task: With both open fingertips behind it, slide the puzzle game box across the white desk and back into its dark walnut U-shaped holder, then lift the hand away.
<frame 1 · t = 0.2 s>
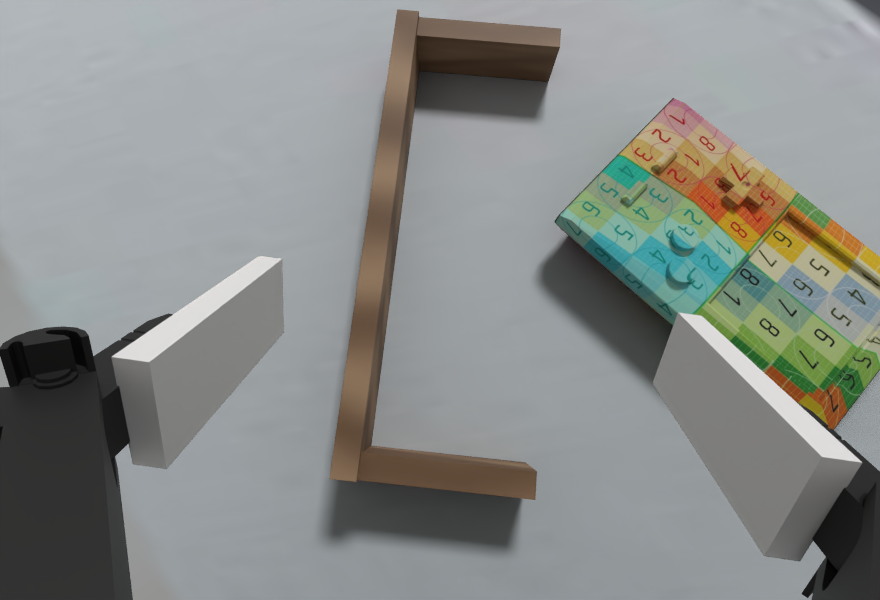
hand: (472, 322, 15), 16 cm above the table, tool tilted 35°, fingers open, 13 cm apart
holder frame: (509, 251, 32), on the table
puzzle game: (705, 273, 32), on the table
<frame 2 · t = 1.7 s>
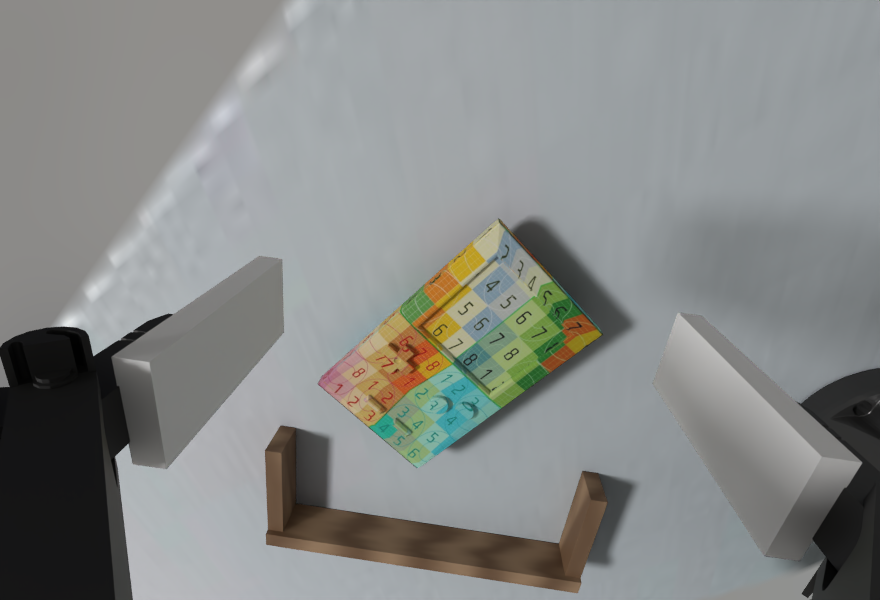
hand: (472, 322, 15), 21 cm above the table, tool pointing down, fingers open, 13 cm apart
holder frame: (435, 465, 44), on the table
puzzle game: (455, 337, 39), on the table
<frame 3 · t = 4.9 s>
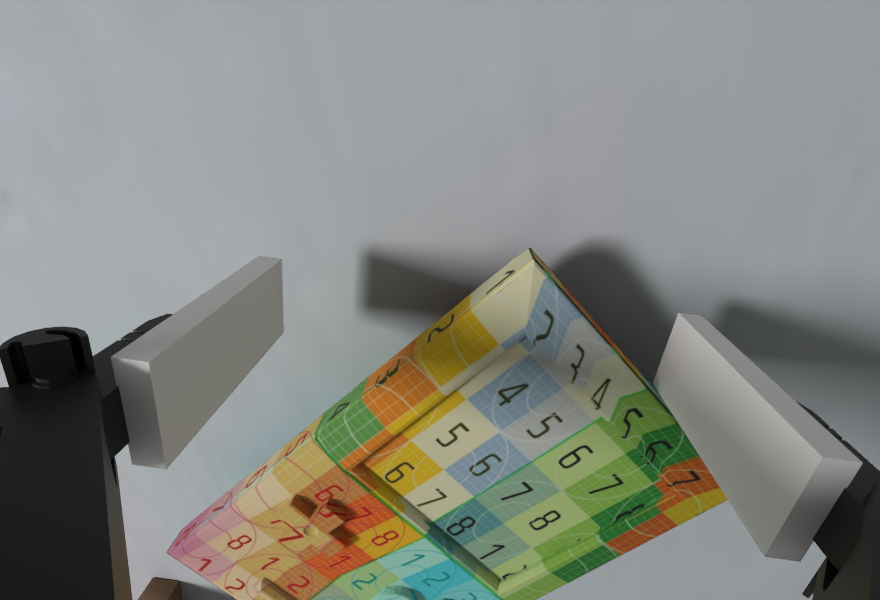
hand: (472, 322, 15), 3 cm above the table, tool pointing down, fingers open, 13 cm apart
puzzle game: (434, 454, 21), on the table, touching gripper
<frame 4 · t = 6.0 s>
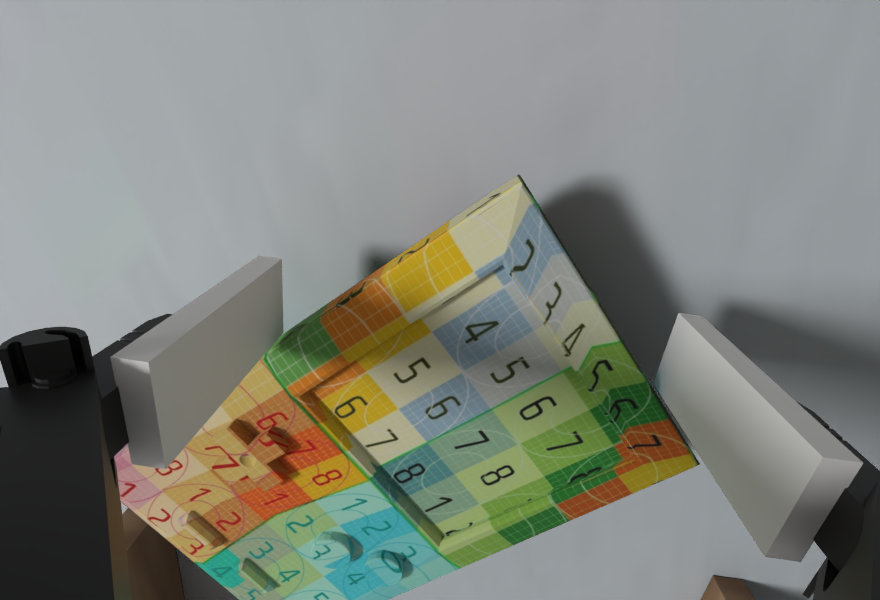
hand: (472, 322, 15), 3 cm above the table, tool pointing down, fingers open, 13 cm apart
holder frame: (432, 564, 24), on the table
puzzle game: (390, 405, 20), on the table, touching gripper
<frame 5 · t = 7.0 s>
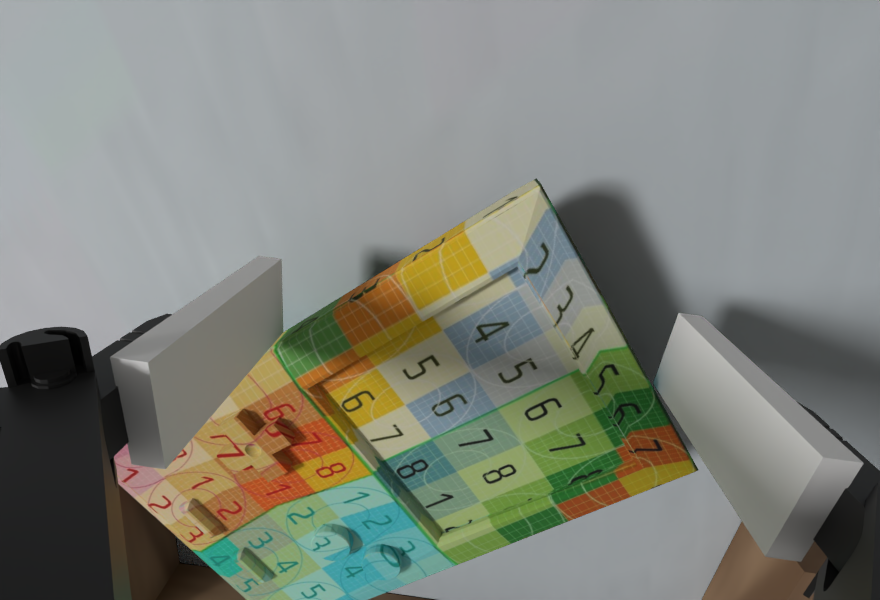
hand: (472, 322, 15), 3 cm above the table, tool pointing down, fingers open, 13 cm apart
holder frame: (444, 490, 22), on the table
puzzle game: (393, 401, 21), on the table, touching gripper
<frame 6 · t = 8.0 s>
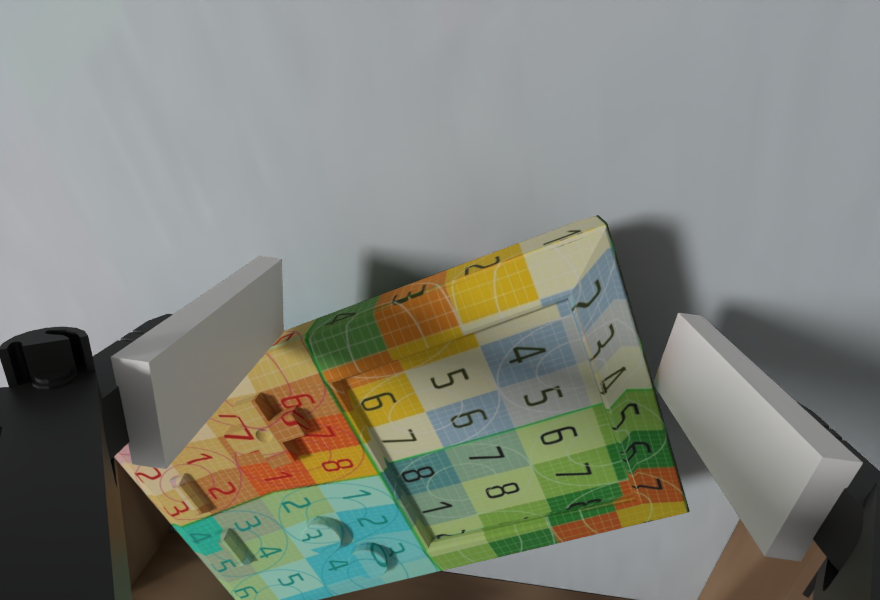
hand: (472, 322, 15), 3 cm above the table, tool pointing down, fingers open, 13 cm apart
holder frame: (447, 452, 21), on the table
puzzle game: (398, 401, 21), on the table
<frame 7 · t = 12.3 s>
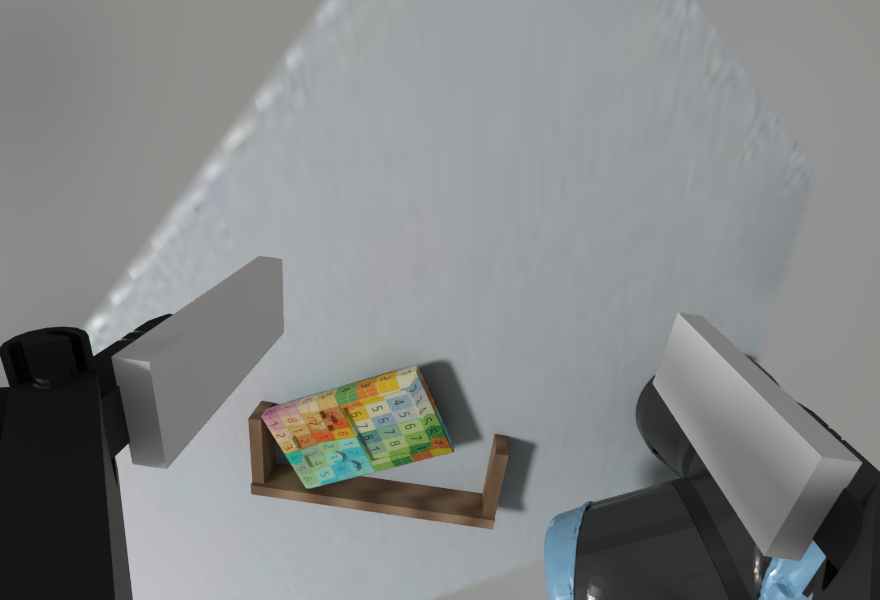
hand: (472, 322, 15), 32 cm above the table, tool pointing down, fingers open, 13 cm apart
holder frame: (382, 431, 57), on the table
puzzle game: (364, 413, 57), on the table
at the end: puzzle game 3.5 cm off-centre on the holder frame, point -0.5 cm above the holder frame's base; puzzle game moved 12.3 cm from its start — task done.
